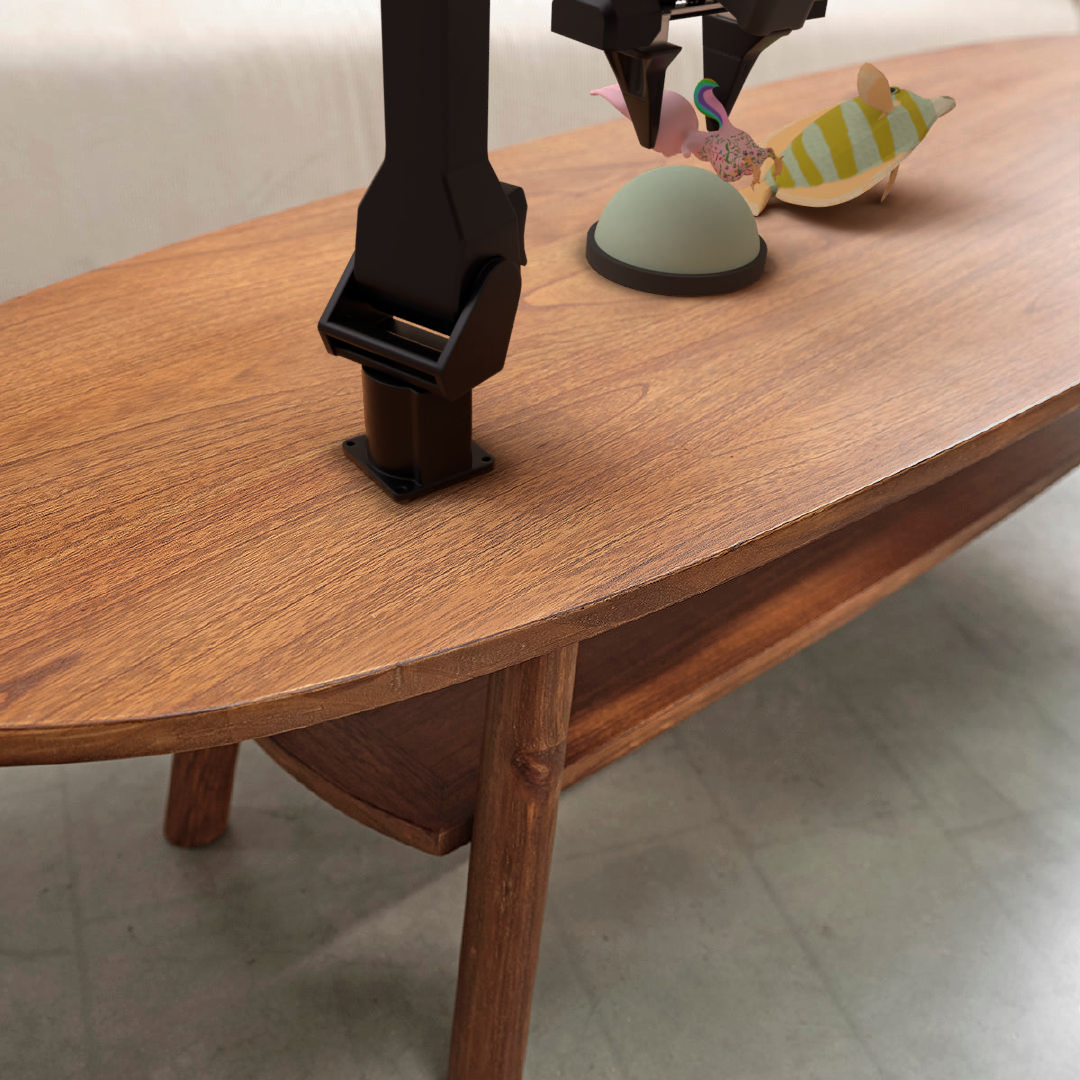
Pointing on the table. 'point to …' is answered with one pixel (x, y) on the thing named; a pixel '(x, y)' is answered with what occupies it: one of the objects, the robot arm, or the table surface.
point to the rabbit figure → (702, 133)
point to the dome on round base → (677, 235)
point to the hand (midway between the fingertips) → (680, 140)
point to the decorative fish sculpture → (846, 145)
